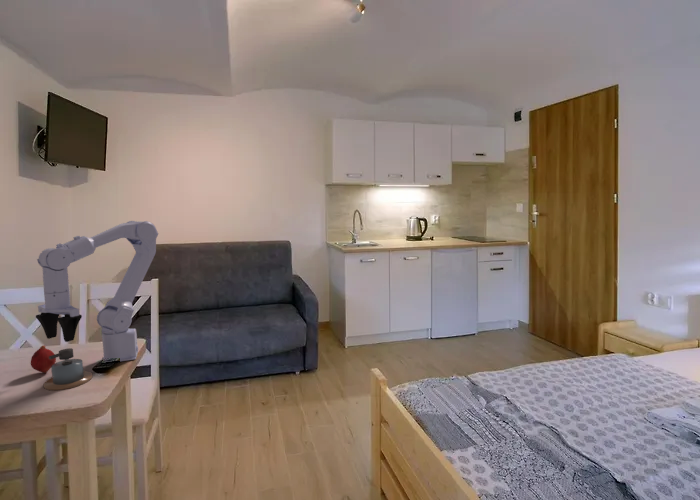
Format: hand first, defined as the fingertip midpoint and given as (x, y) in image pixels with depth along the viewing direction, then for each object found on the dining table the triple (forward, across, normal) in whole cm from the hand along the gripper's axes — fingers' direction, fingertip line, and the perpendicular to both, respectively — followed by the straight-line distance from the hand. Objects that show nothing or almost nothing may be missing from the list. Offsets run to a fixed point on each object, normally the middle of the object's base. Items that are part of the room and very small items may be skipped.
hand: (60, 339), depth 117 cm
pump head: (+5, +6, -3) cm, 8 cm away
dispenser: (+10, +6, -2) cm, 12 cm away
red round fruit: (+11, -7, -1) cm, 13 cm away
